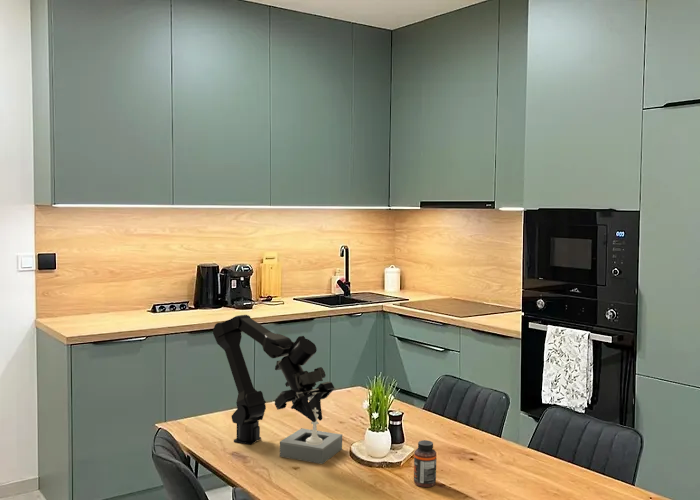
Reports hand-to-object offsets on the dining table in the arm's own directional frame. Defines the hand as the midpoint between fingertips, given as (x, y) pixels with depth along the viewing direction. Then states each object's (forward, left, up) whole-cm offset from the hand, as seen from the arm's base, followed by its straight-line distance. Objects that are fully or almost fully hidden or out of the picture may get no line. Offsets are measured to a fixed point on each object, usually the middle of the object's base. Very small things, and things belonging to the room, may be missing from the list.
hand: (318, 420), depth 197 cm
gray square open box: (-7, +10, -13) cm, 18 cm away
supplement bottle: (+31, +2, -14) cm, 34 cm away
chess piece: (-1, +1, -7) cm, 7 cm away
